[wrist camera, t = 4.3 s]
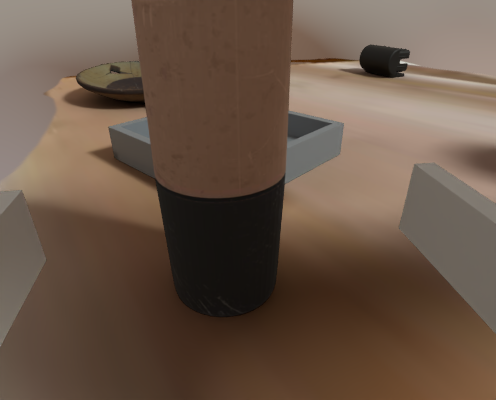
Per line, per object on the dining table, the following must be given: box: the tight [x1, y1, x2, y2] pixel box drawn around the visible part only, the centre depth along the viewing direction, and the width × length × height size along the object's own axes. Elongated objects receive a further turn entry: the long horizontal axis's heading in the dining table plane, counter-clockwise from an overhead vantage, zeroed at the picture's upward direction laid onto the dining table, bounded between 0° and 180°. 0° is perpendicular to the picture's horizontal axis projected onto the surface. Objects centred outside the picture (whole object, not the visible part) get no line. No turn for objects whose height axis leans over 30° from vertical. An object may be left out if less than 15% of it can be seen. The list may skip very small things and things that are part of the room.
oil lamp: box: [76, 61, 145, 102], centre depth 69 cm, size 22×30×8 cm
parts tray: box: [108, 111, 344, 184], centre depth 44 cm, size 20×20×4 cm
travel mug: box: [132, 0, 293, 317], centre depth 21 cm, size 8×8×20 cm
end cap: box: [360, 45, 410, 78], centre depth 91 cm, size 10×7×7 cm
